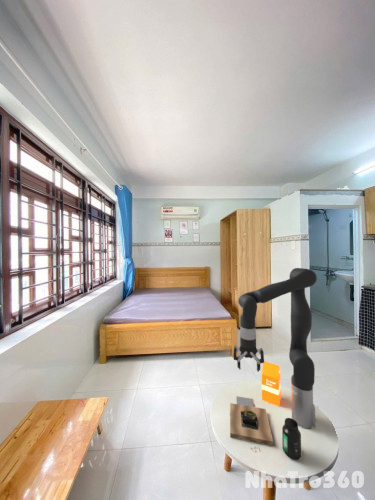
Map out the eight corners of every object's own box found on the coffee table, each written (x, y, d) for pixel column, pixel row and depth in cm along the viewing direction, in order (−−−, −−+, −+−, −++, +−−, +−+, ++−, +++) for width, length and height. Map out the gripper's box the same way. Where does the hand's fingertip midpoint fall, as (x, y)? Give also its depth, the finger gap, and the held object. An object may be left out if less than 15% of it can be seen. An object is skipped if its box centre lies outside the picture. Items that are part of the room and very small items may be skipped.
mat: (252, 399, 108) (252, 398, 108) (254, 410, 100) (254, 409, 100) (236, 396, 110) (236, 396, 110) (236, 407, 102) (236, 406, 102)
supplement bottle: (285, 458, 76) (284, 427, 77) (280, 442, 83) (280, 414, 83) (304, 462, 75) (303, 431, 75) (298, 446, 81) (297, 417, 82)
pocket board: (265, 412, 99) (265, 409, 99) (273, 446, 81) (273, 441, 82) (230, 406, 103) (230, 403, 103) (230, 437, 85) (230, 433, 85)
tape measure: (241, 426, 91) (241, 418, 91) (243, 415, 97) (243, 407, 98) (256, 430, 89) (256, 422, 89) (257, 419, 95) (257, 411, 95)
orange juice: (278, 406, 103) (278, 369, 104) (261, 399, 108) (261, 363, 109) (281, 397, 109) (280, 362, 110) (264, 391, 114) (264, 357, 115)
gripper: (262, 334, 96) (262, 367, 95) (233, 331, 99) (233, 363, 99) (264, 340, 89) (265, 376, 88) (233, 337, 92) (233, 372, 91)
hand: (248, 369), depth 93 cm, fingers open, 8 cm apart
